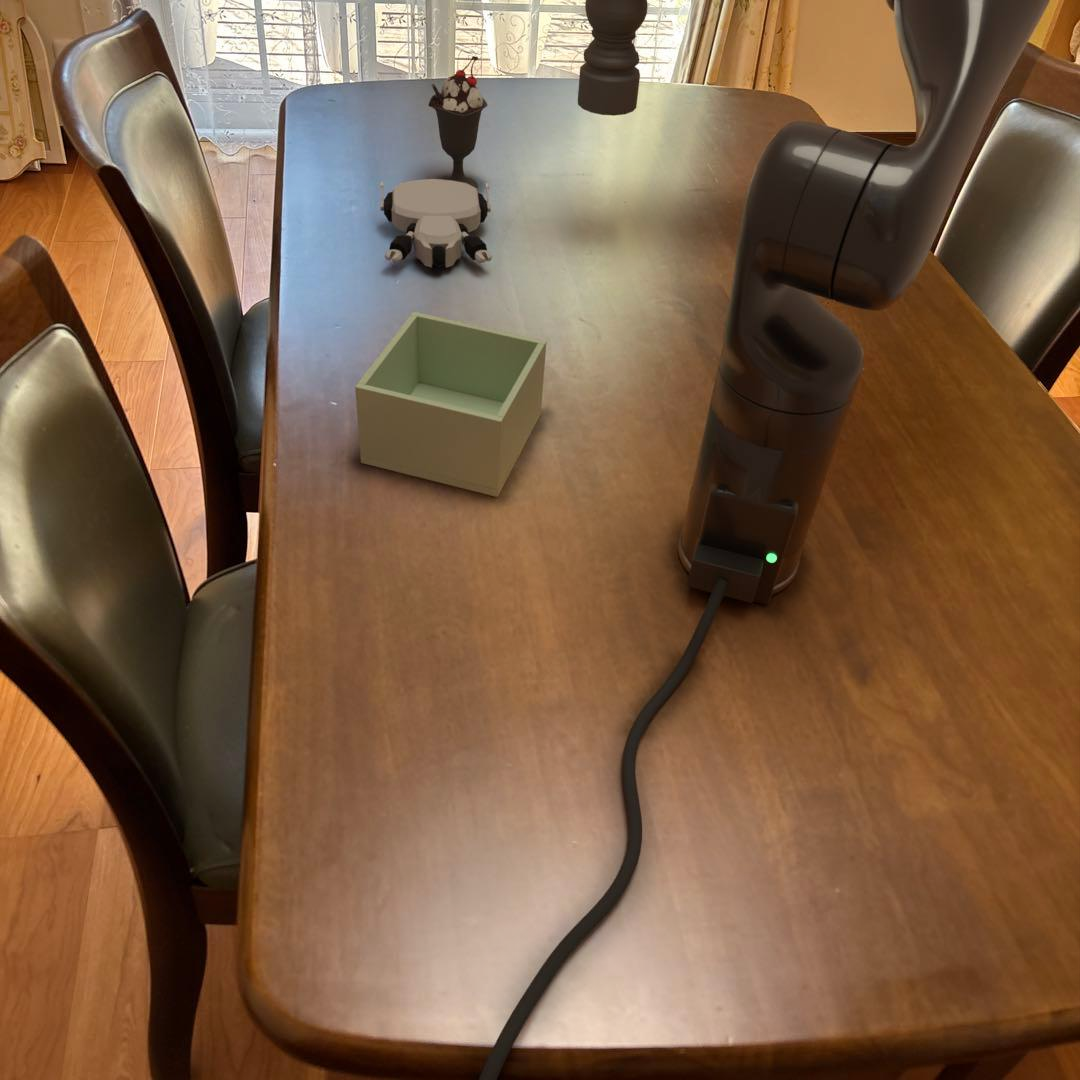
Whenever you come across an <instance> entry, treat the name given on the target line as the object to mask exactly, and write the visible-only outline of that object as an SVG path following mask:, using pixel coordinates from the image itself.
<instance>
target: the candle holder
mask: <svg viewBox="0 0 1080 1080" xmlns="http://www.w3.org/2000/svg"><path fill="white" fill-rule="evenodd" d="M584 4H585V5H584V8H585V16H586V19H587V21H588V24H589V25H590V27H591V28H592V30H591V31H590V32H591V36H592V38H593V39H592V40H591V42H589V44H588V47H586V48H585V49H584V51H583V61H584V63H583V64H581V65H580V67H579V79H578V92H577V105H578V106H579V107H580V108H581V109H582V110H584V111H587V112H589V113H590V114H591V113H592V114H597V115H601V116H613V117H614V116H624V115H627V114H630V113H632V112H634V111H635V110H636V109H637V106H638V98H639V97H638V96H639V89H640V88H639V87H640V81H641V72H640V69H639V68H637V67H636V66H638V65H639V63H640V55H639V52H638V51H637V50H636V46H635V43H633V41H634V40H635V38H636V37H637V34H636V32H637V31H638V30H639V28H641V26H642V25H643V23H644V21H645V20H646V17H647V14H648V7H649V6H648V0H585V3H584Z"/></svg>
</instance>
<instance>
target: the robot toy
mask: <svg viewBox="0 0 1080 1080" xmlns="http://www.w3.org/2000/svg"><path fill="white" fill-rule="evenodd" d="M441 179H442V178H441ZM441 179H439V178H430V179H429V178H426V179H415V180H409V181H408V180H407V181H403V182H401V183H399V184H397V185H396V186H393V188H392V191H390V192H387V194H386V195H385V197H384V182H383V181H380V205H379V206H380V211H381V212H383V215H384V217H385V218H386V220H387V221H388V222H390V223H392V224H393V226H394V228H395V229H397V230H399V231H401V232H402V233H404V234H400V235H396V236H395V238H394V239H393V240H392V241H391V242H390V243H389V249H387V251H386V252H385V255H384V259H385V260H386V261H388V262H390V261H391V262H392V263H396V264H397V263H399V262H401V261H404V260H406V258H408V256H409V254H410V253H412V248H413V251H414V253H413V254H414V255H415V257H416V258H417V259H418V260H420V262H421V263H422V264H423V265H424V266H426V267H429V268H433V266H435V267H443V266H445V268H449V267H452V266H454V264H455V263H456V261H457V260H458V259H460V258H461V255H462V253H463V252H462V250H463V248H464V252H465V253H466V254H467V255H468V256H469V258H470V259H471V260H472V261H476V262H477V263H479V264H483V263H486V262H491V261H492V259H493V256H492V254H491V252H490V250H488V248H487V244H486V243H485V242H484V240H482V239H481V238H480V236H478V235H469V234H470V233H471V232H474V231H475V230H477V229H478V228H479V226H480V224H481V223H485V220H486V218H487V217H488V213H491V210H492V209H491V208H492V207H491V204H490V193H489V189H490V188H489V183H488V182H486V183H485V190H486V198H485V196H484V195H483V194H482V193H480V192H478V188H477V189H476V188H475V187H473V186H471V185H469V184H467V183H463V182H458V181H451V180H441ZM462 245H463V246H462Z"/></svg>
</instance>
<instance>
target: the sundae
mask: <svg viewBox="0 0 1080 1080" xmlns="http://www.w3.org/2000/svg"><path fill="white" fill-rule="evenodd" d="M477 60H479V57H478V56H475V55H472V56H471V60H470V61H469V63H468V64H467V65H466V66H465V67H463V68H462V69H458V70H456V72H455V74H454V75H452V76H448V78H446V80H445V81H444V82H443V83H442V85H441V92H439V90H438V88H437V86H436V84H435V83H432V84H431V87H432V89H433V91H434V93H435V94H434V95H432V96H431V97H430V99H429V102H428V107H429V108H430V107H431V108H432V109H433V110H435V113H436V118H437V125H438V132H439V139H440V144H441V149H442V150H443V152H445V153H446V155H448V156H449V157H450V158H451V160H452V164H453V165H452V171H451V175H447V176H445V177H443V178H441V180H451V181H458V182H463V183H467V184H469V185H471V186H473V187H475V188H476V189H477V190H478V188H479V183H478V182H477V181H476V180H475V179H473V178H472V177H469V176H466V175H465V173H464V159H465V158H466V157H468V156H470V154H471V153H472V152H473V151H474V150H475V148H476V144H477V139H478V133H479V126H480V120H481V115H482V111H483V110H484V109H485V108H487V107H488V102H487V101H486V99H485V98H484V97H483V94H482V92H481V91H480V89H479V88H478V87H477V84H478V80H477V78H476V77H474V75H473V68H474V64H475V62H476V61H477ZM472 61H473V62H472ZM471 63H472V64H471ZM470 64H471V67H470V75H468V76H467V74H466V72H465V70H466V69H467V68H468V67H469V66H470ZM466 76H467V77H466Z"/></svg>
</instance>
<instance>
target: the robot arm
mask: <svg viewBox="0 0 1080 1080" xmlns="http://www.w3.org/2000/svg"><path fill="white" fill-rule="evenodd" d="M884 1H885V3H886V5H887V7H888V8H889V9H890V10H891V11H892V12H893V18H894V26H895V27H894V28H895V32H896V38H897V43H898V48H899V52H900V56H901V59H902V63H903V65H904V69H905V72H906V75H907V79H908V82H909V86H910V90H911V93H912V98H913V104H914V113H915V141H914V142H913V143H911V144H909V145H906V146H905V145H899V144H896V143H895V144H893V142H888V141H884V140H881V139H878V138H874V137H870V136H866V135H863V134H858V133H856V132H852V131H848V130H844V129H840V128H837V127H833V126H830V125H825V124H820V123H817V122H813V121H806V120H796V121H791V122H789V123H787V124H785V125H784V126H782V127H781V128H780V129H779V130H778V131H777V132H776V133H774V135H773V136H772V137H771V138H770V140H769V141H768V143H767V145H766V146H765V148H764V149H763V151H762V153H761V155H760V157H759V159H758V162H757V164H756V166H755V169H754V171H753V173H752V176H751V180H750V183H749V187H748V191H747V194H746V198H745V201H744V207H743V212H742V217H741V223H740V229H739V234H738V241H737V247H736V248H737V249H736V255H735V260H734V261H735V262H734V269H733V276H732V281H731V287H730V294H729V300H728V304H727V305H728V306H727V310H726V314H725V320H724V325H723V326H724V327H723V332H722V347H721V352H720V356H719V362H718V365H717V366H718V367H717V370H716V375H715V380H714V385H713V389H712V394H711V397H710V401H709V407H708V411H707V417H706V420H705V424H704V430H703V433H702V439H701V443H700V448H699V452H698V456H697V462H696V466H695V470H694V475H693V480H692V485H691V487H690V491H689V498H688V503H687V507H686V512H685V516H684V517H685V518H684V521H683V527H682V528H681V531H680V535H679V539H678V544H677V553H678V556H679V561H680V562H681V564H682V565H683V567H684V569H685V570H686V571H687V573H688V578H687V583H686V587H688V588H693V589H696V590H700V591H702V592H707V593H711V594H710V596H709V598H708V600H707V603H706V605H705V608H704V610H703V612H702V615H701V617H700V619H699V621H698V624H697V625H696V628H695V630H694V632H693V634H692V636H691V638H690V639H689V640H690V641H689V643H688V644H687V645H686V648H685V650H684V652H683V654H682V656H681V657H680V660H679V661H678V662H677V664H676V666H675V668H674V669H673V670H672V672H671V673H670V675H669V676H668V677H667V678H666V680H665V681H664V682H663V684H662V685H661V686H660V688H658V690H657V691H656V692H655V694H653V695H652V697H651V698H650V699H649V700H648V701H647V702H646V704H645V705H644V706H643V707H642V709H641V710H640V711H639V713H638V715H637V717H636V718H635V720H634V721H633V723H632V725H631V727H630V730H629V733H628V735H627V738H626V740H625V746H624V748H623V753H622V761H621V777H622V789H623V797H624V802H625V803H624V804H625V809H626V819H627V841H626V842H627V843H626V850H625V853H624V857H623V860H622V862H621V865H620V868H619V870H618V872H617V874H616V876H615V878H614V879H613V881H612V883H611V885H610V886H609V887H608V889H607V890H606V891H605V893H604V894H603V895H602V897H601V898H600V899H599V900H598V901H597V903H596V904H595V905H594V906H593V907H592V908H591V909H590V910H589V911H588V912H587V913H586V914H585V915H584V916H583V917H582V918H581V919H580V920H579V921H578V922H577V923H576V924H575V925H574V926H573V928H571V929H570V930H569V932H568V933H567V934H566V935H565V936H564V937H563V938H562V939H561V940H560V942H559V943H558V944H557V945H556V947H555V948H554V949H553V950H552V951H551V952H550V954H549V956H548V957H547V959H546V960H545V961H544V963H543V964H542V966H541V967H540V969H539V970H538V972H537V973H536V974H535V976H534V978H533V979H532V980H531V982H530V983H529V985H528V987H527V989H526V990H525V991H524V993H523V994H522V995H521V996H522V997H521V998H520V999H519V1000H518V1002H517V1004H516V1005H515V1007H514V1009H513V1010H512V1012H511V1014H510V1016H509V1018H508V1019H507V1021H506V1023H505V1025H504V1026H503V1027H502V1030H501V1032H500V1033H499V1035H498V1037H497V1039H496V1041H495V1043H494V1045H493V1047H492V1048H491V1051H490V1053H489V1055H488V1058H487V1059H486V1062H485V1064H484V1066H483V1068H482V1071H481V1073H480V1075H479V1077H478V1080H498V1077H499V1076H500V1073H501V1070H502V1069H503V1066H504V1064H505V1062H506V1060H507V1058H508V1057H509V1054H510V1052H511V1050H512V1048H513V1046H514V1045H515V1042H516V1040H517V1039H518V1038H519V1037H518V1036H519V1035H520V1033H521V1031H522V1030H523V1028H524V1026H525V1024H526V1022H527V1021H528V1019H529V1018H530V1016H531V1014H532V1012H533V1011H534V1009H535V1008H536V1006H537V1005H538V1003H539V1001H540V999H541V998H542V996H543V995H544V993H545V992H546V990H547V988H549V986H550V985H551V982H552V981H553V979H554V978H555V977H556V975H557V973H558V972H559V971H560V969H561V968H562V966H563V965H564V964H565V962H566V961H567V959H568V958H569V957H570V956H571V955H572V954H573V952H574V951H576V950H577V948H578V947H579V946H580V944H581V943H582V942H583V941H584V940H585V939H586V938H587V937H588V936H589V935H590V934H591V933H592V932H593V931H594V930H595V929H596V928H597V927H598V925H599V924H600V923H601V922H602V921H603V920H604V919H605V918H606V917H607V916H608V915H609V913H610V912H611V911H612V910H613V909H614V908H615V906H616V905H617V904H618V902H619V901H620V899H621V898H622V896H623V895H624V893H625V891H626V889H627V888H628V886H629V885H630V882H631V880H632V878H633V876H634V873H635V871H636V868H637V866H638V863H639V858H640V855H641V850H642V843H643V821H642V820H643V818H642V812H641V811H642V810H641V804H640V798H639V791H638V785H637V776H636V763H637V753H638V750H639V745H640V742H641V739H642V736H643V734H644V732H645V730H646V728H647V726H648V725H649V723H650V722H651V720H652V719H653V717H654V716H655V714H656V713H657V712H658V711H659V709H660V708H661V707H662V706H663V705H664V703H666V701H667V700H668V699H669V698H670V696H672V695H673V693H674V692H675V690H676V689H677V688H678V686H679V685H680V684H681V682H682V681H683V679H684V678H685V676H686V674H687V673H688V672H689V670H690V668H691V667H692V664H693V662H694V661H695V659H696V657H697V656H698V654H699V652H700V649H701V647H702V645H703V643H704V641H705V640H706V637H707V635H708V633H709V630H710V628H711V627H712V625H713V622H714V619H715V617H716V615H717V612H718V610H719V607H720V605H721V603H722V600H723V597H727V598H731V599H735V600H739V601H742V602H746V603H751V604H752V603H753V602H754V603H757V604H762V605H769V604H770V602H771V598H772V596H773V595H775V594H777V593H780V592H781V591H783V590H784V589H786V588H787V587H788V586H789V585H790V584H791V583H792V582H793V580H794V579H795V577H796V575H797V571H798V569H799V567H800V566H799V565H800V561H801V556H802V552H803V551H804V550H803V549H804V547H805V544H806V540H807V537H808V534H809V531H810V528H811V525H812V522H813V519H814V516H815V513H816V510H817V506H818V503H819V501H820V497H821V494H822V492H823V489H824V486H825V483H826V479H827V477H828V473H829V471H830V468H831V464H832V462H833V459H834V455H835V452H836V450H837V446H838V444H839V441H840V437H841V434H842V432H843V429H844V426H845V423H846V420H847V417H848V414H849V411H850V408H851V405H852V402H853V399H854V396H855V394H856V391H857V388H858V385H859V382H860V379H861V376H862V373H863V369H864V366H865V365H864V364H865V355H864V349H863V346H862V343H861V341H860V340H859V337H858V336H857V335H856V334H855V332H854V331H853V330H852V328H850V327H849V326H848V325H847V324H846V323H845V322H844V321H843V320H842V319H841V318H839V317H838V316H837V315H836V314H834V313H833V312H832V311H831V310H829V308H828V307H826V306H825V304H823V303H822V301H820V300H819V299H818V298H817V297H821V298H824V299H826V300H829V301H834V302H835V303H839V304H842V305H844V306H847V307H848V306H849V307H852V308H855V309H860V310H865V311H873V312H880V311H884V310H887V309H889V308H891V307H892V306H893V305H895V303H896V304H897V302H898V301H899V300H900V299H901V298H903V296H904V295H905V294H906V292H907V291H908V290H909V288H910V287H911V286H912V283H913V282H914V281H915V279H916V278H917V276H918V275H919V273H920V271H921V269H922V267H923V265H924V263H925V262H926V259H927V257H928V255H929V254H930V250H931V249H932V246H933V243H934V242H935V240H936V237H937V236H938V233H939V232H940V229H941V228H942V227H941V226H942V224H943V222H944V219H945V217H946V215H947V212H948V210H949V207H950V205H951V203H952V201H953V198H954V196H955V194H956V191H957V189H958V187H959V184H960V182H961V180H962V178H963V175H964V173H965V170H966V167H967V165H968V163H969V161H970V158H971V156H972V154H973V152H974V149H975V146H976V144H977V142H978V140H979V138H980V135H981V133H982V131H983V128H984V126H985V123H986V122H987V119H988V118H989V115H990V113H991V111H992V109H993V106H994V105H995V103H996V100H997V98H998V97H999V94H1000V93H1001V91H1002V89H1003V87H1004V86H1005V84H1006V82H1007V80H1008V78H1009V76H1010V74H1011V73H1012V71H1013V69H1014V67H1015V66H1016V64H1017V62H1018V61H1019V60H1018V59H1019V58H1020V57H1021V55H1022V53H1023V51H1024V49H1025V48H1026V46H1027V44H1028V42H1029V40H1030V39H1031V37H1032V35H1033V33H1034V32H1035V30H1036V28H1037V26H1038V25H1039V23H1040V21H1041V19H1042V17H1043V16H1044V13H1045V12H1046V10H1047V7H1048V5H1049V3H1050V1H1051V0H884ZM816 296H817V297H816Z"/></svg>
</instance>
